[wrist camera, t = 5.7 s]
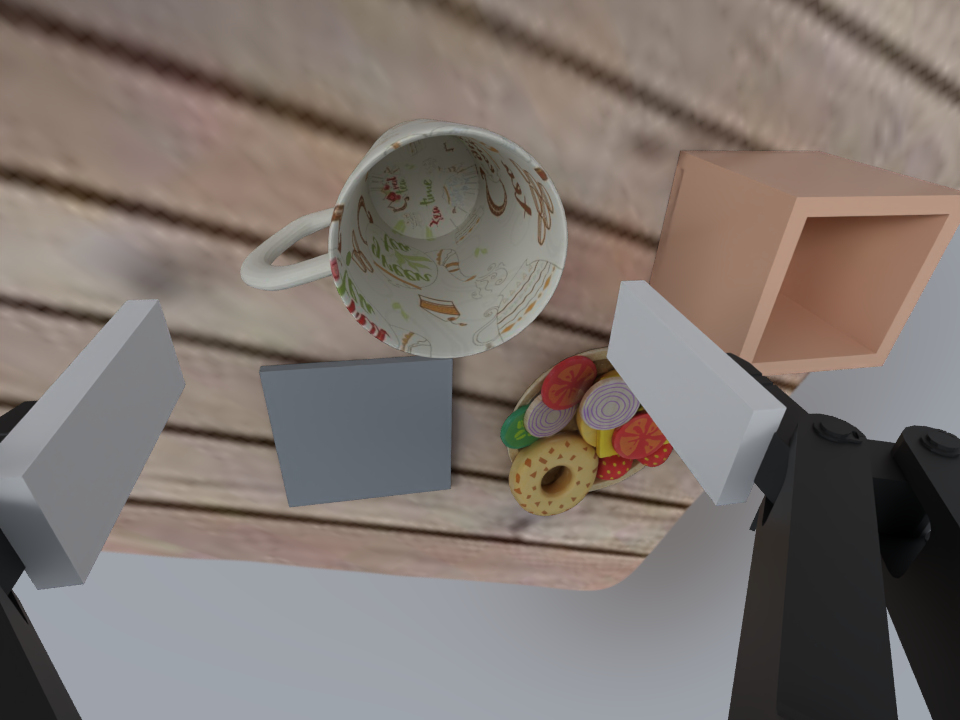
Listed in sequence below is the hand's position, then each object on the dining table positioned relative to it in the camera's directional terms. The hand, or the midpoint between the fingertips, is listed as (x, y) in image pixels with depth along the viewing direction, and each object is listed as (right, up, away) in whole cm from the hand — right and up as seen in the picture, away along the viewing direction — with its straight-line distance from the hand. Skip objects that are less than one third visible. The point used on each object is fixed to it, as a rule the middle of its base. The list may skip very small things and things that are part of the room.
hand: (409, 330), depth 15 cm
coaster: (-5, -6, +18) cm, 20 cm away
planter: (+17, +7, +15) cm, 24 cm away
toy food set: (+10, -5, +22) cm, 25 cm away
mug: (-3, +7, +11) cm, 14 cm away
